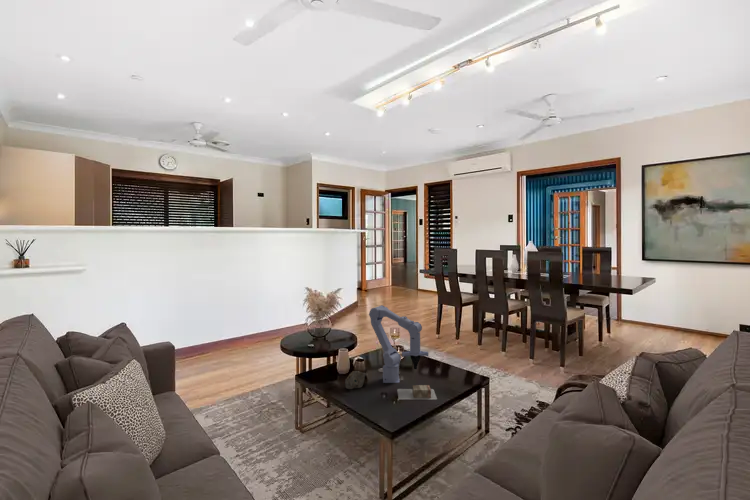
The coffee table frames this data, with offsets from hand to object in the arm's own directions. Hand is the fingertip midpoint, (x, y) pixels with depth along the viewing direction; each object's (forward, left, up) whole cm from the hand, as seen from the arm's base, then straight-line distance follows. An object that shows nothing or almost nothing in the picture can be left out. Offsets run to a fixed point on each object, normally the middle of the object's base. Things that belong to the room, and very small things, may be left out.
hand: (415, 368), depth 201 cm
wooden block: (-2, -11, -8) cm, 14 cm away
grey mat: (0, -10, -10) cm, 14 cm away
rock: (-33, 0, -11) cm, 34 cm away
